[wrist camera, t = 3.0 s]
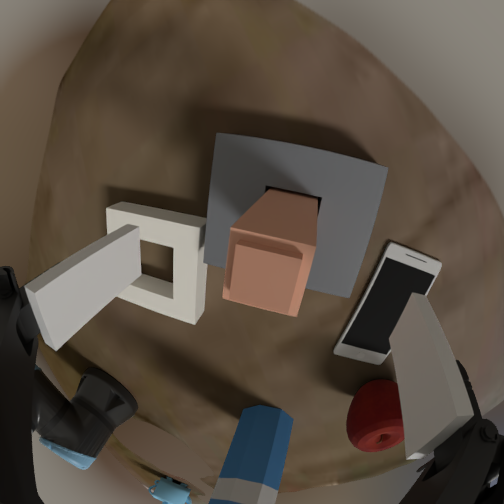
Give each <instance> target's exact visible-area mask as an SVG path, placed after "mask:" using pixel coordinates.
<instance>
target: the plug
mask: <svg viewBox="0 0 504 504" xmlns="http://www.w3.org/2000/svg"><path fill="white" fill-rule="evenodd" d="M317 213H318V196H313V195H309V194H305V193H300V192H296V191H291V190H286V189H281V188H276V187H271V188H270V189H269V190H268V191H267V192H266V193H265V194H264V195H263V196H262V197H261V198H260V199H259V200H258V201H257V202H256V203H255V204H253V205H252V206H251V207H250V208H249V209H248V210H247V211H246V212H245V213H244V214H243V215H242V216H241V217H240V218H239V219H238V220H237V221H236V222H235V223H234V224H233V225H232V226H231V228H230V236H229V244H228V253H227V261H226V270H225V279H224V288H223V297H222V298H224V299H227V300H231V301H235V302H238V303H242V304H246V305H250V306H254V307H257V308H261V309H265V310H269V311H273V312H277V313H281V314H285V315H290V316H294V317H297V314H298V311H299V307H300V304H301V301H302V297H303V294H304V290H305V287H306V283H307V280H308V276H309V272H310V269H311V265H312V261H313V258H314V254H315V250H316V243H317Z"/></svg>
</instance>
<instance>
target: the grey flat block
mask: <svg viewBox="0 0 504 504" xmlns="http://www.w3.org/2000/svg"><path fill="white" fill-rule="evenodd" d="M387 172H388V167H385V166H383V165H380V164H377V163H374V162H370V161H367V160H363V159H360V158H356V157H352V156H348V155H344V154H340V153H336V152H332V151H328V150H323V149H319V148H314V147H310V146H305V145H300V144H295V143H290V142H284V141H278V140H273V139H266V138H260V137H253V136H246V135H239V134H230V133H216V140H215V147H214V155H213V164H212V172H211V181H210V190H209V200H208V210H207V221H206V233H205V245H204V258H203V263H205V264H209V265H213V266H217V267H221V268H225V269H226V261H227V253H228V244H229V236H230V228H231V226H232V225H233V224H234V223H235V222H236V221H237V220H238V219H239V218H240V217H241V216H242V215H243V214H244V213H245V212H246V211H247V210H248V209H249V208H250V207H251V206H252V205H253V204H255V203H256V202H257V201H258V200H259V199H260V198H261V197H262V196H263V195H264V194H265V193H266V192H267V191H268V190H269V189H270V188H271V187H276V188H281V189H286V190H291V191H296V192H300V193H305V194H309V195H313V196H318V197H320V199H319V204H318V213H317V243H316V250H315V254H314V258H313V261H312V265H311V269H310V272H309V276H308V280H307V283H306V287H305V288H307V289H311V290H315V291H319V292H324V293H328V294H332V295H337V296H341V297H346V298H349V297H350V295H351V292H352V289H353V287H354V284H355V281H356V278H357V276H358V273H359V270H360V267H361V264H362V261H363V258H364V255H365V252H366V249H367V246H368V243H369V239H370V236H371V233H372V229H373V226H374V223H375V219H376V216H377V212H378V208H379V205H380V201H381V197H382V193H383V189H384V185H385V181H386V177H387Z"/></svg>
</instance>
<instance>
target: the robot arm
mask: <svg viewBox="0 0 504 504" xmlns="http://www.w3.org/2000/svg"><path fill="white" fill-rule="evenodd" d="M141 275H142V274H141V258H140V230H139V226H135V225H131V224H126V225H124V226H123V227H121V228H119V229H117V230H115V231H113V232H111V233H110V234H108V235H106V236H104V237H102V238H101V239H99V240H97V241H95V242H94V243H92V244H90V245H88V246H87V247H85V248H83V249H82V250H80V251H78V252H77V253H75V254H73V255H72V256H70V257H68V258H67V259H65V260H63V261H62V262H59V263H57V264H56V265H54V266H53V267H51V268H50V269H48V270H46V271H45V272H44V273H42V274H40V275H39V276H37V277H36V278H34V279H33V280H31V281H30V282H28V283H27V284H25V285H24V286H22V287H21V288H19V287H18V284H17V281H16V277H15V274H14V270H13V268H12V267H10V266H3V267H0V504H44V503H43V501H42V500H41V498H40V497H39V495H38V492H37V488H36V482H35V474H34V465H33V453H32V433H33V432H34V431H35V430H36V431H37V432H38V433H39V434H40V435H41V437H40V439H39V441H40V443H42V444H43V445H44V446H46V447H47V448H48V449H50V450H51V451H53V452H54V453H56V454H57V455H59V456H60V457H62V458H63V459H65V460H66V461H68V462H69V463H71V464H72V465H74V466H76V467H77V468H79V469H83V470H84V469H87V468H89V466H90V465H91V464H92V462H93V461H94V460H96V457H97V456H98V454H99V452H100V451H101V450H102V448H103V446H104V445H105V444H106V442H107V441H108V439H109V437H110V436H111V434H112V433H113V431H114V430H115V429H116V427H118V426H119V425H121V424H122V423H124V422H125V421H127V420H128V419H130V418H131V417H132V416H133V415H134V414H135V412H136V411H137V409H138V405H137V403H136V401H135V399H134V398H133V396H132V395H131V394H130V393H129V392H128V391H127V390H126V389H125V388H124V387H123V386H122V385H121V384H120V383H119V382H118V381H116V380H115V379H114V378H112V377H111V376H109V375H108V374H106V373H105V372H103V371H101V370H99V369H96V368H88V369H87V370H86V371H85V372H84V374H83V375H82V378H81V380H80V383H79V386H78V389H77V391H76V394H75V396H74V397H73V398H72V400H71V401H70V402H69V401H68V400H67V399H66V398H65V397H64V395H63V394H62V393H61V392H60V391H59V390H58V389H57V388H56V387H55V386H54V385H53V383H52V382H51V381H50V380H49V379H48V378H47V376H46V375H45V374H44V373H43V372H42V370H41V368H39V367H38V366H37V365H36V364H35V363H36V355H37V349H38V338H37V335H38V334H39V333H40V332H41V334H42V337H43V339H44V341H45V343H46V344H47V345H49V346H50V347H51V348H53V349H54V350H55V351H57V350H58V349H59V348H60V347H61V346H62V345H63V344H64V343H65V342H66V341H67V340H69V339H70V338H71V337H72V336H73V335H74V334H75V333H76V332H77V331H78V330H79V329H80V328H81V327H82V326H84V325H85V324H86V323H87V322H88V321H89V320H90V319H91V318H92V317H93V316H95V315H96V314H97V313H98V312H99V311H100V310H101V309H102V308H103V307H105V306H106V305H107V304H108V303H109V302H110V301H111V300H113V299H114V298H115V297H116V296H117V295H118V294H119V293H121V292H122V291H123V290H124V289H125V288H126V287H128V286H129V285H130V284H131V283H132V282H133V281H135V280H136V279H137V278H138V277H139V276H141ZM389 342H390V346H391V351H392V356H393V361H394V366H395V372H396V377H397V383H398V389H399V395H400V402H401V410H402V418H403V426H404V437H405V449H406V459H420V458H424V457H425V456H427V455H428V454H430V453H431V452H432V451H434V456H435V457H434V458H433V459H432V460H430V461H429V462H427V463H426V464H424V465H423V466H421V467H420V468H419V469H418V470H417V472H420V471H421V470H423V469H424V468H425V469H424V471H423V472H422V474H421V475H420V477H419V478H418V479H417V481H416V482H415V484H414V485H413V486H412V487H411V489H410V491H409V492H408V493H407V494H406V495H405V497H404V498H403V499H402V500H401V502H400V503H399V504H504V436H503V435H499V434H498V430H497V428H496V426H495V425H494V424H493V423H492V422H491V421H490V420H488V419H482V416H481V413H480V409H479V406H478V403H477V400H476V397H475V394H474V391H473V390H472V386H471V383H470V382H469V377H468V375H467V372H466V370H465V368H464V367H463V366H462V364H461V363H460V362H459V360H455V358H454V355H453V353H452V350H451V348H450V346H449V343H448V341H447V339H446V337H445V334H444V332H443V330H442V328H441V326H440V323H439V321H438V319H437V317H436V315H435V313H434V311H433V309H432V307H431V305H430V303H429V301H428V299H427V297H426V295H421V294H417V293H413V292H412V294H411V296H410V298H409V300H408V302H407V305H406V307H405V309H404V311H403V313H402V315H401V317H400V319H399V321H398V322H397V324H396V326H395V328H394V330H393V332H392V334H391V336H390V337H389ZM497 477H498V482H497V484H496V485H494V486H492V487H490V482H491V481H493V480H494V479H496V478H497Z"/></svg>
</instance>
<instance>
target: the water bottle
mask: <svg viewBox="0 0 504 504" xmlns="http://www.w3.org/2000/svg"><path fill="white" fill-rule="evenodd" d="M292 424H293V418H291V417H290V416H289V415H288V414H286V413H285V412H284V411H283V410H282V409H278V408H272V407H267V406H263V405H257V406H253V407H249V408H245V409H243V411H242V414H241V417H240V420H239V423H238V426H237V429H236V432H235V435H234V437H233V440H232V443H231V446H230V448H229V451H228V454H227V457H226V459H225V462H224V465H223V467H222V470H221V473H220V475H219V478H218V481H217V483H216V486H215V488H214V491H213V494H212V496H211V499H210V501H209V504H275V501H276V497H277V493H278V489H279V485H280V481H281V477H282V472H283V468H284V463H285V459H286V454H287V449H288V444H289V439H290V434H291V429H292Z"/></svg>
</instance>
